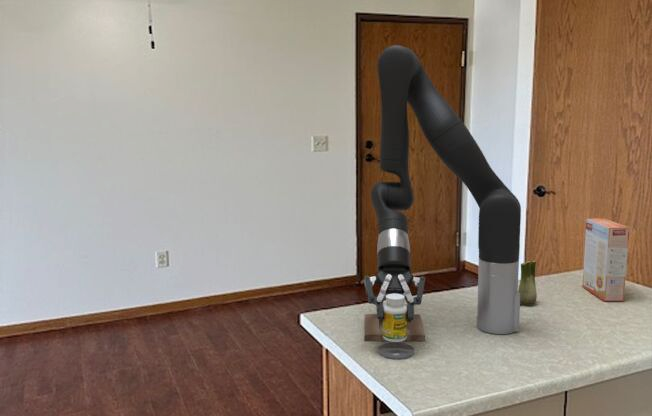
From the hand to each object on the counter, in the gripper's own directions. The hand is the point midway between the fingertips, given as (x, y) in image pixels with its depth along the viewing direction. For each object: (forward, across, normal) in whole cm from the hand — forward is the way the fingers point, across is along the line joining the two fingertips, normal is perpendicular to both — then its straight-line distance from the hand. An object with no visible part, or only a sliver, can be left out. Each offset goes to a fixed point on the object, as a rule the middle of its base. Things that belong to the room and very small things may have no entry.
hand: (395, 320), depth 125 cm
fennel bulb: (-19, +37, +30) cm, 51 cm away
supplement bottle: (+2, 0, +5) cm, 5 cm away
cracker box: (-25, +61, +36) cm, 75 cm away
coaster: (+4, 0, +7) cm, 8 cm away
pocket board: (-5, 0, +16) cm, 17 cm away
